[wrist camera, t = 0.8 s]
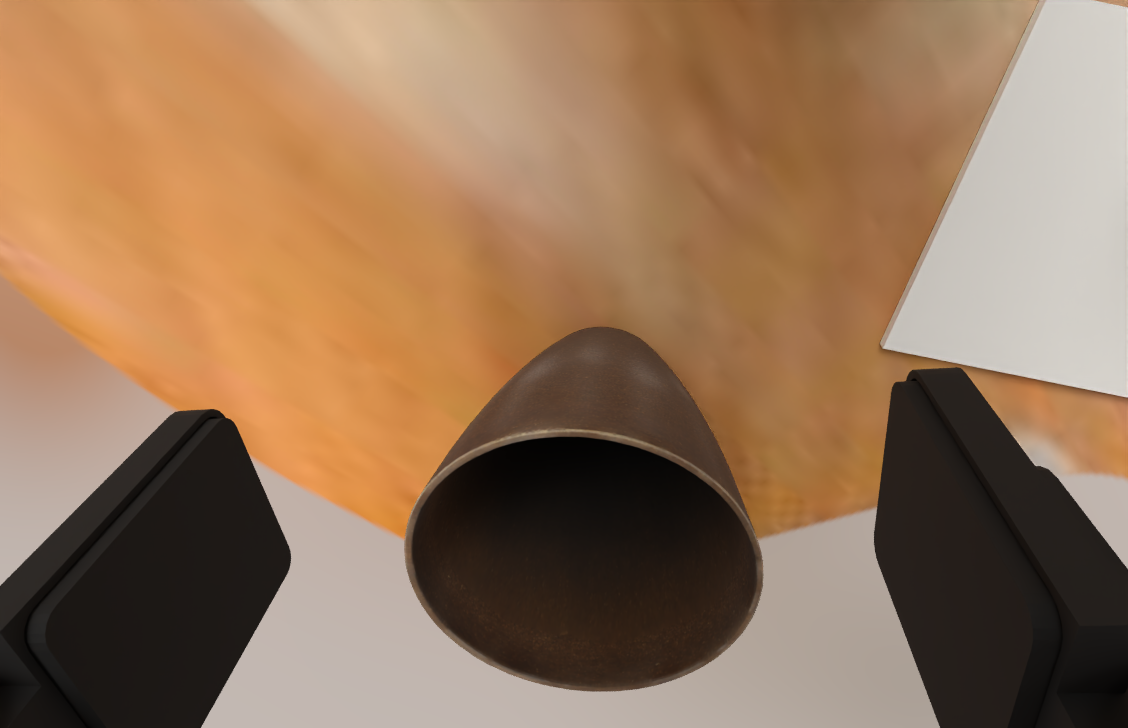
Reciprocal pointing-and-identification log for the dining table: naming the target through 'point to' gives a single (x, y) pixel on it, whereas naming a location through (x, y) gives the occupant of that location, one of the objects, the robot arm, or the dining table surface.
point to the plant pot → (587, 525)
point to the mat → (1037, 217)
